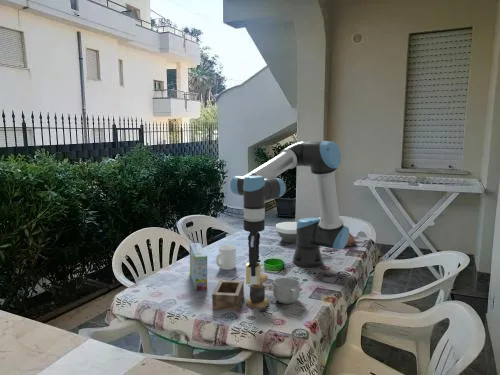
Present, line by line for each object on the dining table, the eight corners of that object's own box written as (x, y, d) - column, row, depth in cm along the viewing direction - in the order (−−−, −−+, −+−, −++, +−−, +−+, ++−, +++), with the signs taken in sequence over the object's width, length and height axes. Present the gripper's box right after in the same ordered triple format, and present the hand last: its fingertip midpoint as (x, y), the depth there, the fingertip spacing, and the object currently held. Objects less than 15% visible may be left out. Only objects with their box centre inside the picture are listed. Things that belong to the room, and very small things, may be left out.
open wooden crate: (243, 294, 152) (243, 280, 151) (238, 310, 138) (238, 295, 137) (220, 293, 153) (219, 279, 152) (212, 309, 139) (212, 294, 138)
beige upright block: (260, 281, 135) (260, 258, 134) (259, 284, 132) (260, 261, 131) (247, 280, 136) (247, 257, 134) (246, 284, 133) (246, 260, 131)
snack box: (208, 289, 157) (207, 255, 155) (195, 291, 155) (194, 257, 153) (201, 272, 177) (200, 242, 175) (189, 273, 176) (188, 243, 173)
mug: (222, 273, 175) (222, 253, 173) (210, 269, 180) (210, 249, 179) (239, 266, 184) (239, 247, 182) (227, 263, 189) (227, 243, 188)
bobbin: (269, 298, 148) (269, 272, 146) (267, 309, 139) (267, 281, 137) (247, 297, 149) (247, 271, 147) (244, 307, 140) (244, 280, 139)
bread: (328, 239, 235) (328, 224, 234) (358, 244, 224) (359, 227, 223) (318, 244, 221) (319, 228, 220) (350, 249, 210) (351, 232, 209)
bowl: (309, 245, 219) (309, 229, 218) (276, 245, 219) (276, 229, 218) (304, 236, 238) (304, 221, 237) (274, 236, 239) (274, 221, 237)
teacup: (271, 295, 151) (271, 276, 150) (297, 294, 152) (297, 275, 151) (276, 311, 138) (276, 291, 136) (305, 310, 138) (305, 290, 137)
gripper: (246, 214, 139) (247, 273, 142) (240, 224, 123) (240, 290, 126) (266, 214, 138) (266, 273, 141) (262, 224, 122) (262, 291, 125)
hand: (254, 281), depth 134 cm, fingers closed on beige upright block, 3 cm apart
